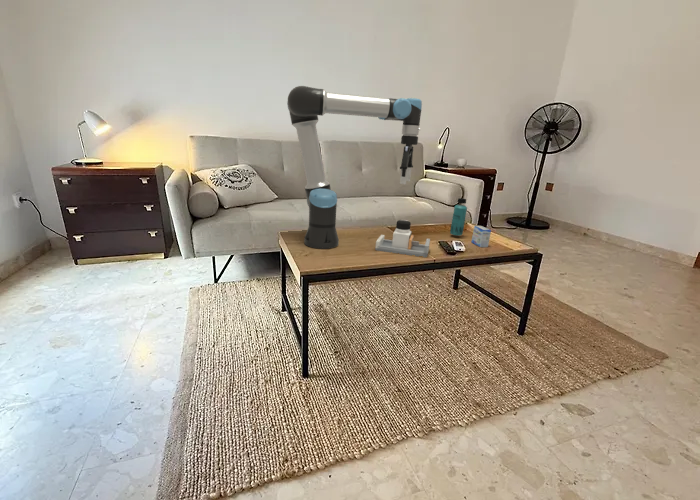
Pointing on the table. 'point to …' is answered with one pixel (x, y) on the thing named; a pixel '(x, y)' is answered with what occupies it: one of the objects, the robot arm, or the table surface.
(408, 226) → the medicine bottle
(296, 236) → the table surface
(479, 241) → the medicine box
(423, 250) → the lane
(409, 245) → the pusher
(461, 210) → the beverage bottle
